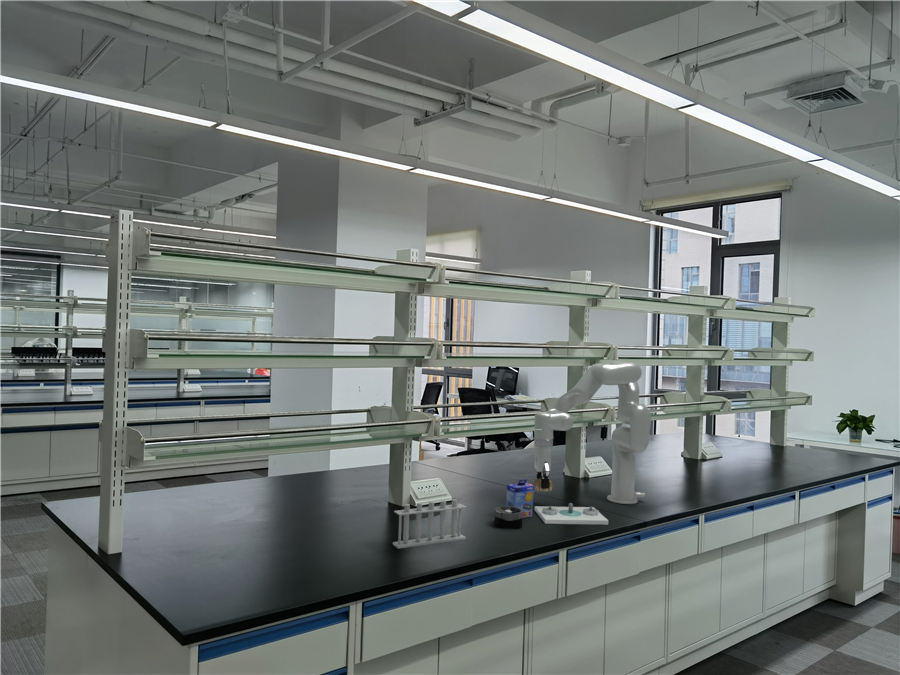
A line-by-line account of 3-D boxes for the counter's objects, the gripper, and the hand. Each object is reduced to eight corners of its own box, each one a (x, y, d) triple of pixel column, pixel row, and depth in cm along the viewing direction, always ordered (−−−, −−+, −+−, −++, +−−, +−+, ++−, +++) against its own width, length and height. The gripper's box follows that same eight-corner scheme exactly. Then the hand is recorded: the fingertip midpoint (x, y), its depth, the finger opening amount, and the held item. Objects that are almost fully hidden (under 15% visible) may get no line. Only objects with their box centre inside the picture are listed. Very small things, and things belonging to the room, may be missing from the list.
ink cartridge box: (513, 520, 243) (515, 481, 243) (504, 516, 248) (505, 478, 248) (533, 516, 249) (535, 478, 249) (524, 512, 253) (525, 475, 253)
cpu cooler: (520, 506, 242) (524, 513, 232) (520, 521, 243) (524, 529, 232) (493, 505, 242) (496, 512, 232) (492, 520, 242) (495, 528, 232)
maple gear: (549, 486, 270) (549, 478, 270) (554, 491, 262) (554, 482, 262) (531, 487, 269) (531, 478, 269) (535, 491, 261) (535, 482, 261)
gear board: (593, 511, 260) (594, 498, 260) (608, 524, 242) (608, 510, 242) (534, 510, 258) (535, 497, 258) (545, 523, 240) (545, 509, 240)
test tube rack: (398, 549, 206) (399, 507, 206) (392, 544, 210) (394, 504, 210) (465, 539, 218) (467, 500, 218) (459, 535, 222) (460, 497, 222)
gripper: (529, 439, 274) (529, 480, 274) (539, 446, 256) (538, 491, 257) (547, 439, 274) (546, 480, 275) (557, 446, 257) (557, 491, 257)
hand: (542, 485), depth 266 cm, fingers closed on maple gear, 7 cm apart
